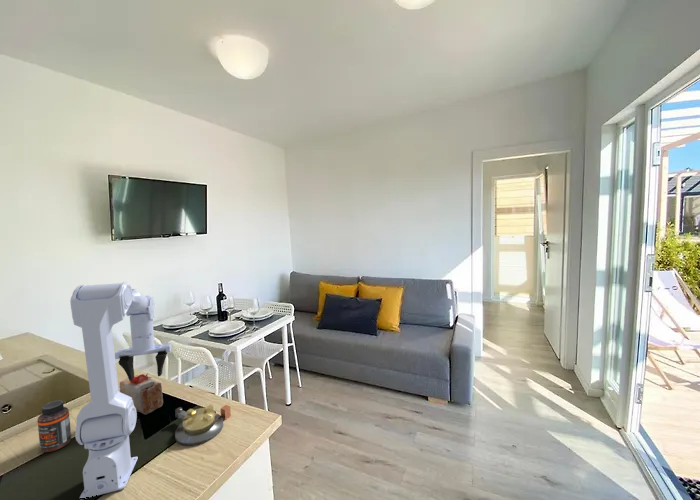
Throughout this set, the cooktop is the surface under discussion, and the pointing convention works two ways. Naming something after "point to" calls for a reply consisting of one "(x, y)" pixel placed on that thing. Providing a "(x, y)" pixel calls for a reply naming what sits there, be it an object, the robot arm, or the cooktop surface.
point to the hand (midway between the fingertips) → (146, 376)
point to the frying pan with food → (205, 436)
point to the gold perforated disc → (196, 419)
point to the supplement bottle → (54, 426)
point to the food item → (143, 393)
